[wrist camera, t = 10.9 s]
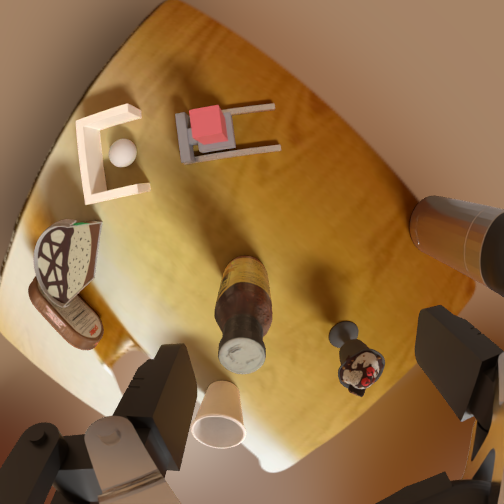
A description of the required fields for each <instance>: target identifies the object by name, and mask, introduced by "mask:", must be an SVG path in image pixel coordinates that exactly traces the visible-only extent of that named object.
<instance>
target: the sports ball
mask: <svg viewBox="0 0 504 504" xmlns="http://www.w3.org/2000/svg"><path fill="white" fill-rule="evenodd" d="M136 154H137V150H136V146H135V145H134V143H133V142H132V141H130V140H128V139H119V140H117V141H115V142H114V143H113V144H112V145H111V147H110V149H109V159H110V161H111V162H112V163H113V164H114V165H115V166H117V167H126V166H129V165H130V164H131V163H132V162H133V161H134V160H135V158H136Z"/></svg>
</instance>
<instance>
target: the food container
mask: <svg viewBox="0 0 504 504" xmlns="http://www.w3.org/2000/svg"><path fill="white" fill-rule="evenodd" d="M75 222H77V220H73V219H64V220H60V221H57V222H55V223H54V224H52V225H51V226H50V227H48V228H47V229H46V230H45V231H44V232H43V233H42V235H41V236H40V238H39V239H38V241H37V244H36V246H35V250H34V269H35V273H36V277H37V280H38V282H39V284H40V286H41V288H42V290H43V291H44V293H45V294H46V295H47V296H48V297H49V298H50V299H51V300H52V301H53V302H54V303H55V304H57V305H58V306H60V307H62V308H63V307H67V306H69V305H70V304H68V302H70V301H71V300H72V299H73V298H74V297H75V296H76V295H77V294H78V293H79V292H80V291H81V290H82V289H83V288H84V287H85V286H87V285H88V284H89V283H90V282H91V281H92V280H93V279H94V278H95V272H96V263H97V255H98V247H99V240H100V233H101V227H102V221H97V220H95V221H87V222H79V223H75Z"/></svg>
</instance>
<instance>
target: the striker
mask: <svg viewBox="0 0 504 504" xmlns="http://www.w3.org/2000/svg"><path fill="white" fill-rule="evenodd" d="M189 114H190V120H189V116H188V115H187V114H186V113H185V112H182V113H177V114H175V117H176V125H177V133H178V141H179V149H180V156H181V163H191V162H195V158H194V151H193V145H198V146H199V151H200V152H202V153H206V152H212V151H218V150H224V149H231V148H236V144H235V137H234V130H233V122H232V116H231V113H230V112H225V113H222V111H221V109H220V107H219V105H214V106H208V107H203V108H197V109H192V110H189ZM190 122H191V128H190Z"/></svg>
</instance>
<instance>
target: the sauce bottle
mask: <svg viewBox="0 0 504 504" xmlns="http://www.w3.org/2000/svg"><path fill="white" fill-rule="evenodd" d="M215 319H216V322H217V324H218V325H219V327H220V329H221V331H222V333H223V337H222V339H221V341H220V343H219V351H218V357H219V361H220V362H221V364H222V365H223V366H224V367H225V368H226V369H227V370H229V371H231V372H234V373H237V374H249V373H252V372H254V371H256V370H257V369H259V368H260V367H261V366H262V365H263V363H264V361H265V357H266V348H265V345H264V342H263V336H265V335H266V334H267V332H268V330H269V328H270V326H271V322H272V302H271V294H270V287H269V280H268V274H267V271H266V269H265V267H264V265H263V264H262V263H261V262H260V261H259V260H258V259H257V258H254V257H251V256H239V257H236V258H235V259H233V260H232V261H231V262H229V264H228V265H227V267H226V268H225V270H224V273H223V277H222V281H221V285H220V289H219V292H218V297H217V301H216V306H215Z"/></svg>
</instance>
